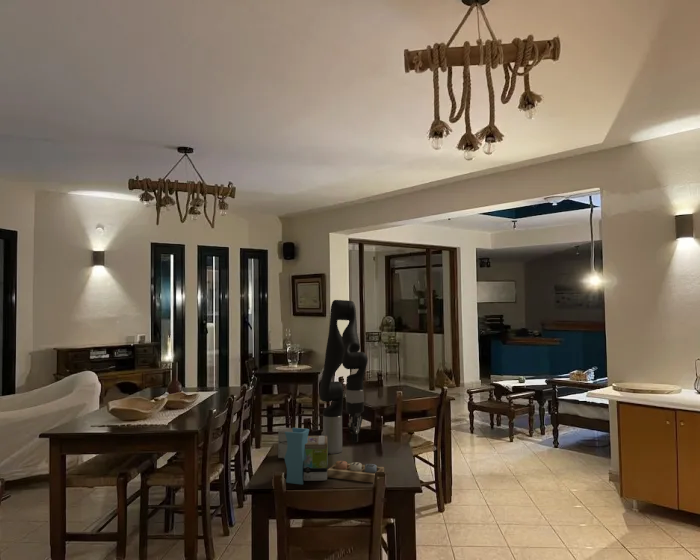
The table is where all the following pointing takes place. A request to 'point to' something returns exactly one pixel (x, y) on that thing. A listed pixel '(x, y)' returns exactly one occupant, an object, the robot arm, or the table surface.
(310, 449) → the tea box
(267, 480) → the table surface
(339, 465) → the pink rounded block
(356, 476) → the button board
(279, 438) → the supplement box
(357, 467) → the white rounded block
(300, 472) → the vase
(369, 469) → the slate button
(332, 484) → the table surface
